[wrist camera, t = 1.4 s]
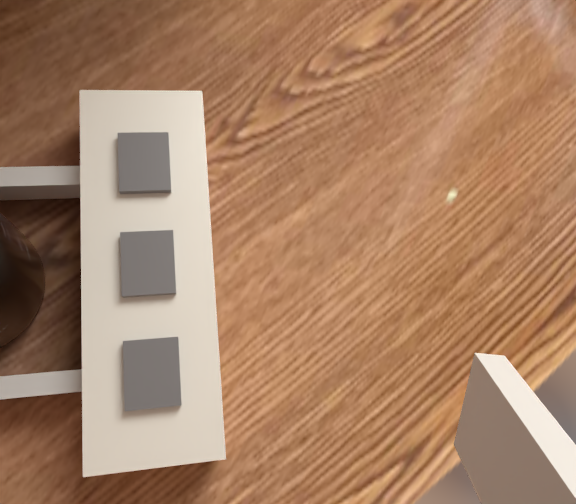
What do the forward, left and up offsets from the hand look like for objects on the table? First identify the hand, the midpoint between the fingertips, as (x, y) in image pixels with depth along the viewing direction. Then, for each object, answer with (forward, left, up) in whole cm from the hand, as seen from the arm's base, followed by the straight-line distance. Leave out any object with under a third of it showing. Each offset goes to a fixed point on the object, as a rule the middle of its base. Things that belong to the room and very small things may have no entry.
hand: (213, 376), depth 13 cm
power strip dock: (-5, -7, -14) cm, 17 cm away
